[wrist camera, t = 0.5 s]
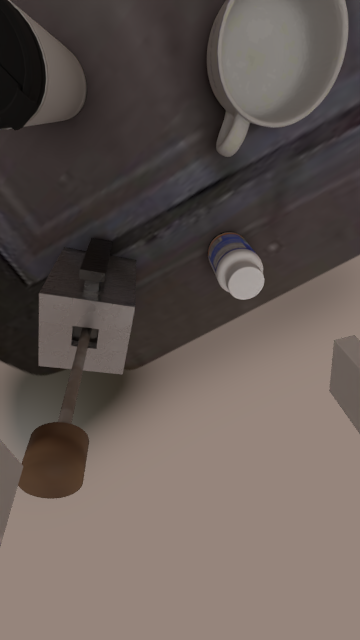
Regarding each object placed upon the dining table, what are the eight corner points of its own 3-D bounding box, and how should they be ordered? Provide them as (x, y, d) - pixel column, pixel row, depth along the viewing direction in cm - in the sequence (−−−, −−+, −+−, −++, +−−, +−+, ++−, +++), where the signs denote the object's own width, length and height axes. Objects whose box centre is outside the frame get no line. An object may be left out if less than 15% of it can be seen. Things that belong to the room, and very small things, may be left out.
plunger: (55, 343, 37) (-3, 508, 22) (57, 293, 33) (-10, 445, 18) (114, 350, 38) (98, 509, 23) (122, 302, 35) (109, 451, 20)
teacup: (254, -51, 28) (291, -101, 21) (329, 50, 32) (379, 35, 26) (160, 102, 33) (165, 101, 26) (235, 171, 38) (256, 185, 31)
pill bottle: (250, 262, 44) (275, 297, 36) (212, 275, 44) (228, 312, 36) (242, 224, 41) (268, 253, 33) (202, 238, 41) (217, 270, 33)
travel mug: (64, 138, 34) (-9, 166, 17) (6, 80, 31) (-150, 47, 14) (103, 88, 32) (64, 66, 15) (45, 22, 29) (-82, -96, 12)
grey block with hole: (61, 308, 45) (38, 365, 35) (65, 228, 39) (39, 269, 29) (126, 317, 47) (122, 374, 37) (139, 242, 41) (139, 285, 31)
